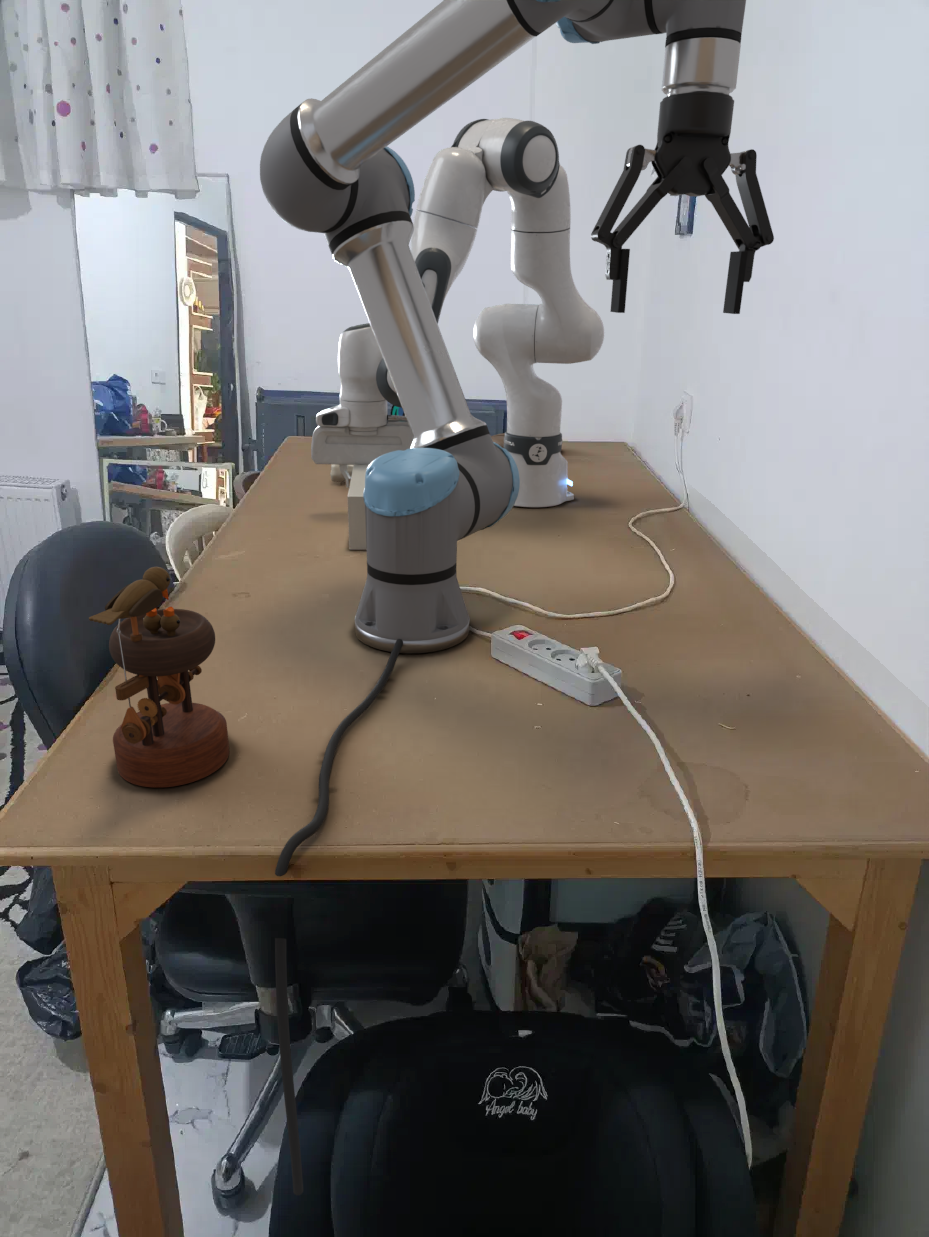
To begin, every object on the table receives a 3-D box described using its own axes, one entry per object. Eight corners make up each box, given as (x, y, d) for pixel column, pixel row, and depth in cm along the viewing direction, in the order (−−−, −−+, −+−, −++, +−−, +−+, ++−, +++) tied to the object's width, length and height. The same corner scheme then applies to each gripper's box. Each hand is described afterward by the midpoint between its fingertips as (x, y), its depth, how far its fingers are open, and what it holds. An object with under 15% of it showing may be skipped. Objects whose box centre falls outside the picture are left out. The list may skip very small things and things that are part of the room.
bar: (374, 549, 146) (373, 496, 142) (349, 549, 146) (347, 496, 142) (378, 505, 169) (377, 458, 165) (356, 505, 169) (355, 458, 164)
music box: (204, 802, 76) (158, 593, 68) (89, 801, 77) (32, 596, 70) (260, 719, 90) (227, 538, 82) (162, 719, 91) (122, 542, 84)
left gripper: (790, 108, 93) (761, 312, 101) (571, 97, 89) (559, 310, 97) (828, 95, 86) (793, 315, 94) (592, 82, 82) (578, 313, 90)
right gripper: (420, 413, 161) (421, 484, 166) (313, 411, 161) (317, 482, 166) (418, 418, 155) (418, 492, 160) (307, 416, 155) (311, 490, 161)
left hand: (674, 313), depth 96 cm, fingers open, 13 cm apart
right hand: (366, 487), depth 163 cm, fingers open, 5 cm apart
